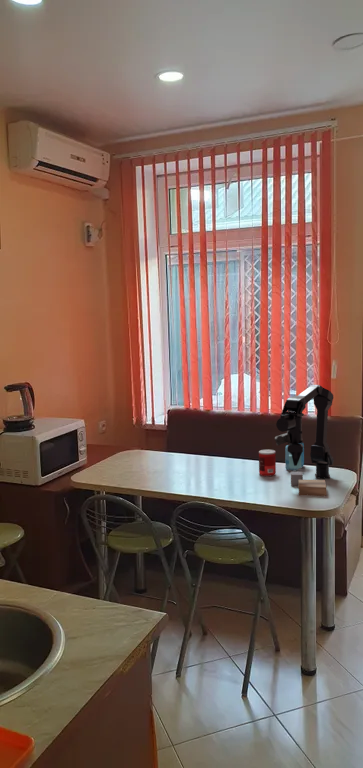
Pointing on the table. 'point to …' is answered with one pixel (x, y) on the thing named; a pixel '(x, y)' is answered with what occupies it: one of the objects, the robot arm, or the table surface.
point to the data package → (288, 459)
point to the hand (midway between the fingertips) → (295, 464)
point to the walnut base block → (312, 487)
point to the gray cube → (296, 478)
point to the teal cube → (291, 464)
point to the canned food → (267, 462)
